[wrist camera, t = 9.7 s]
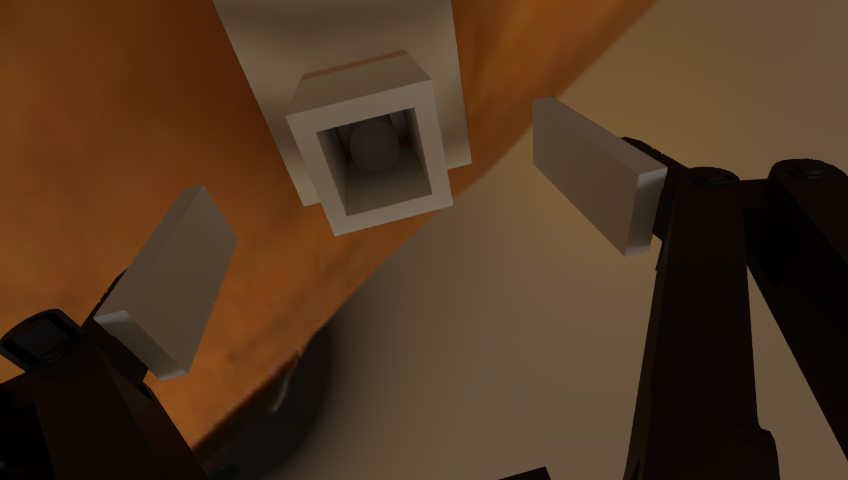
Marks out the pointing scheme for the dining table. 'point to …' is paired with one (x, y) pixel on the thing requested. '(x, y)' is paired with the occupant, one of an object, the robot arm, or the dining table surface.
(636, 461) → the robot arm
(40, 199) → the dining table surface
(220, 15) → the pin board
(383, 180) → the sleeve
